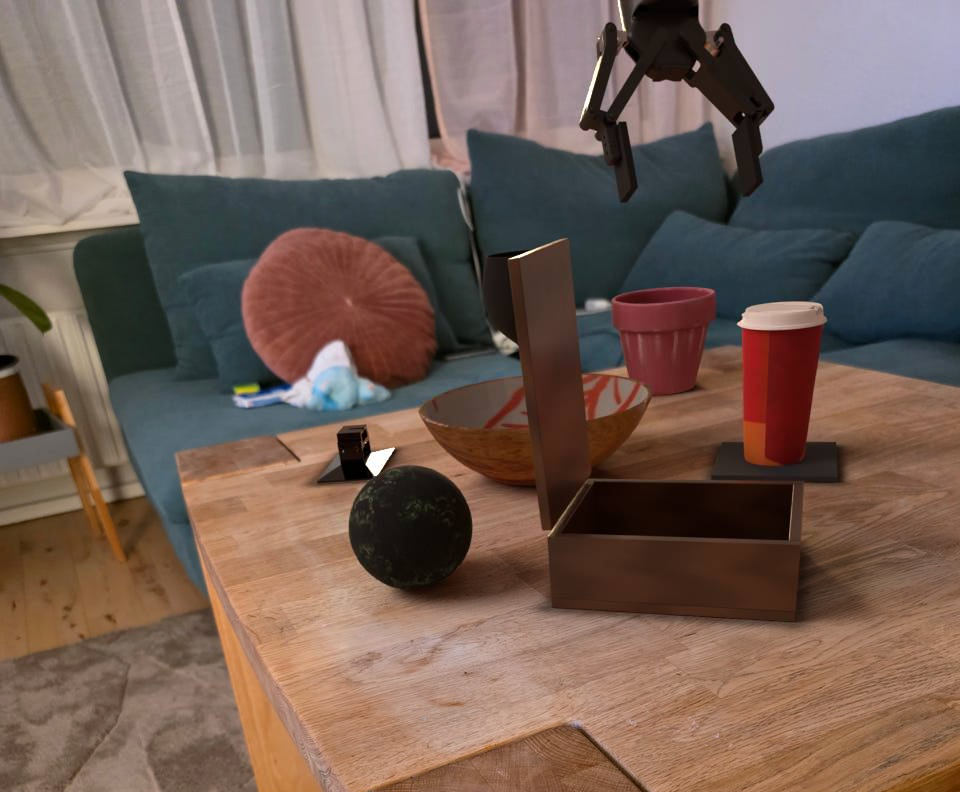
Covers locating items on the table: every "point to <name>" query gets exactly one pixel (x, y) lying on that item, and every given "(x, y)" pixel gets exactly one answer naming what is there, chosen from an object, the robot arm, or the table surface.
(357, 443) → the black block with wedges
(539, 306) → the lid
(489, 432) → the bowl
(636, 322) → the flower pot
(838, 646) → the table surface
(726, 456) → the mat
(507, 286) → the wine glass
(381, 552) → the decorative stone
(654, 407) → the table surface
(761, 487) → the storage box
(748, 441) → the coffee cup
